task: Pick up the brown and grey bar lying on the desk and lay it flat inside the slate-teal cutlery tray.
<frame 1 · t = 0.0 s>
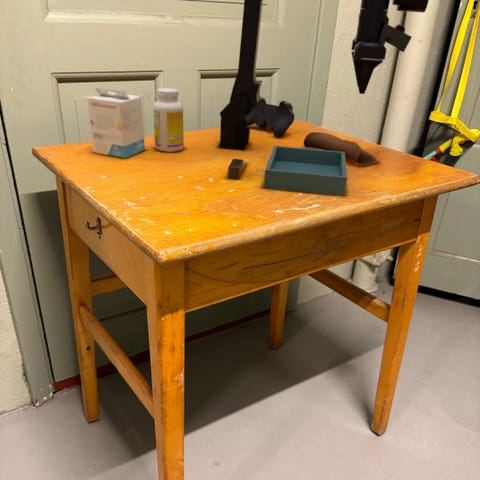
hand: (360, 90, 117), 15 cm above the table, tool pointing down, fingers open, 9 cm apart
sunglasses case: (340, 156, 125), on the table
supplement bottle: (169, 149, 122), on the table
cutlery tray: (305, 177, 109), on the table
brown and grey bar: (237, 170, 110), on the table
game controller: (265, 131, 142), on the table
ink box: (119, 152, 118), on the table
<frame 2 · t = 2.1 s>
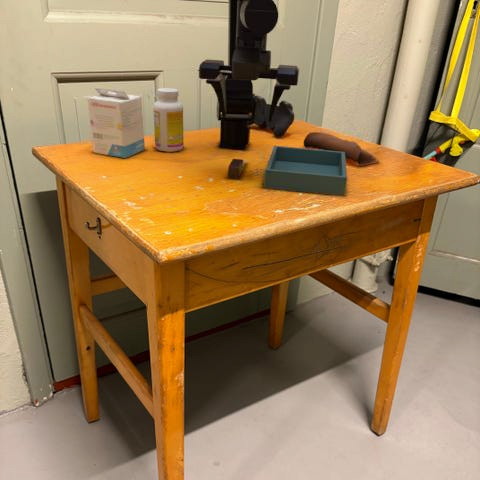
hand: (247, 119, 104), 11 cm above the table, tool pointing down, fingers open, 9 cm apart
nothing on the table moved.
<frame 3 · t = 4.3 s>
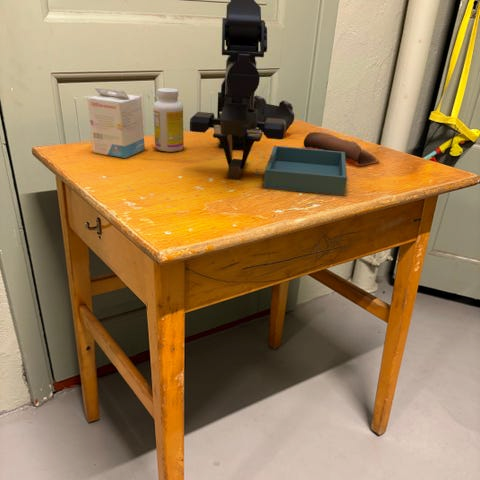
hand: (236, 168, 108), 1 cm above the table, tool pointing down, fingers closed on brown and grey bar, 2 cm apart
brown and grey bar: (237, 170, 110), on the table, touching gripper
everything else where it was.
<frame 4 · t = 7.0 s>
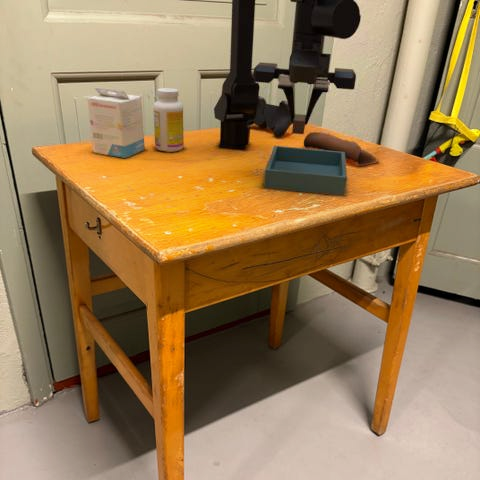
hand: (299, 123, 102), 11 cm above the table, tool pointing down, fingers closed on brown and grey bar, 2 cm apart
brown and grey bar: (299, 127, 104), point 10 cm above the table, touching gripper
everything else where it was.
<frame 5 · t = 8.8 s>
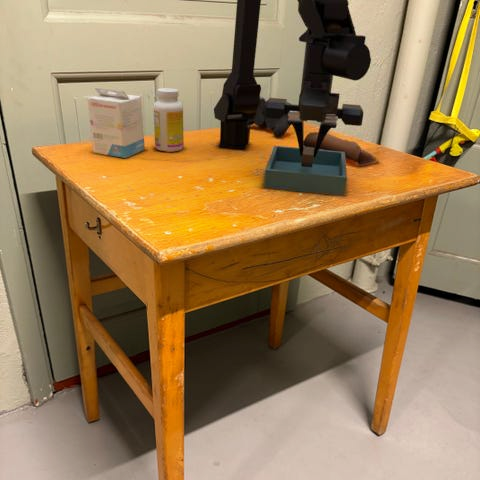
hand: (307, 156, 105), 5 cm above the table, tool pointing down, fingers closed on brown and grey bar, 2 cm apart
brown and grey bar: (307, 159, 107), point 4 cm above the table, touching gripper
everything else where it was.
when the fingers open (2 cm above the table, at t = 9.9 s): brown and grey bar stays where it is, resting on cutlery tray.
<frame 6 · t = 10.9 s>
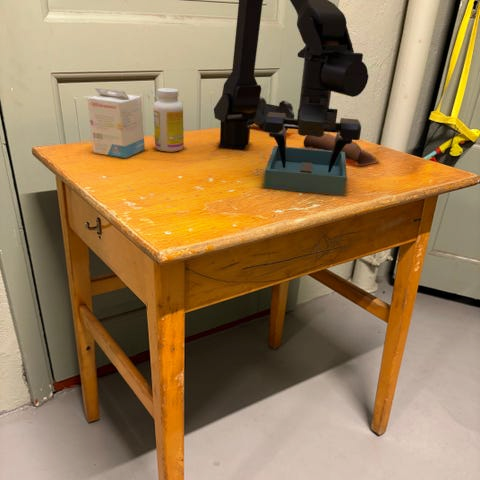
hand: (306, 169, 106), 2 cm above the table, tool pointing down, fingers open, 9 cm apart
brown and grey bar: (305, 174, 109), point 1 cm above the table, touching cutlery tray
everything else where it was.
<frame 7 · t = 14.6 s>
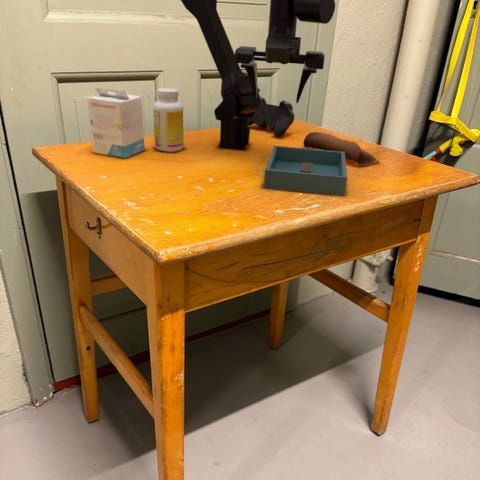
hand: (276, 101, 115), 12 cm above the table, tool pointing down, fingers open, 9 cm apart
nothing on the table moved.
at the end: brown and grey bar inside the target area in the cutlery tray (0.0 cm from its centre), point 0.6 cm above the cutlery tray's base; brown and grey bar touching cutlery tray; the gripper is holding nothing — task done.
